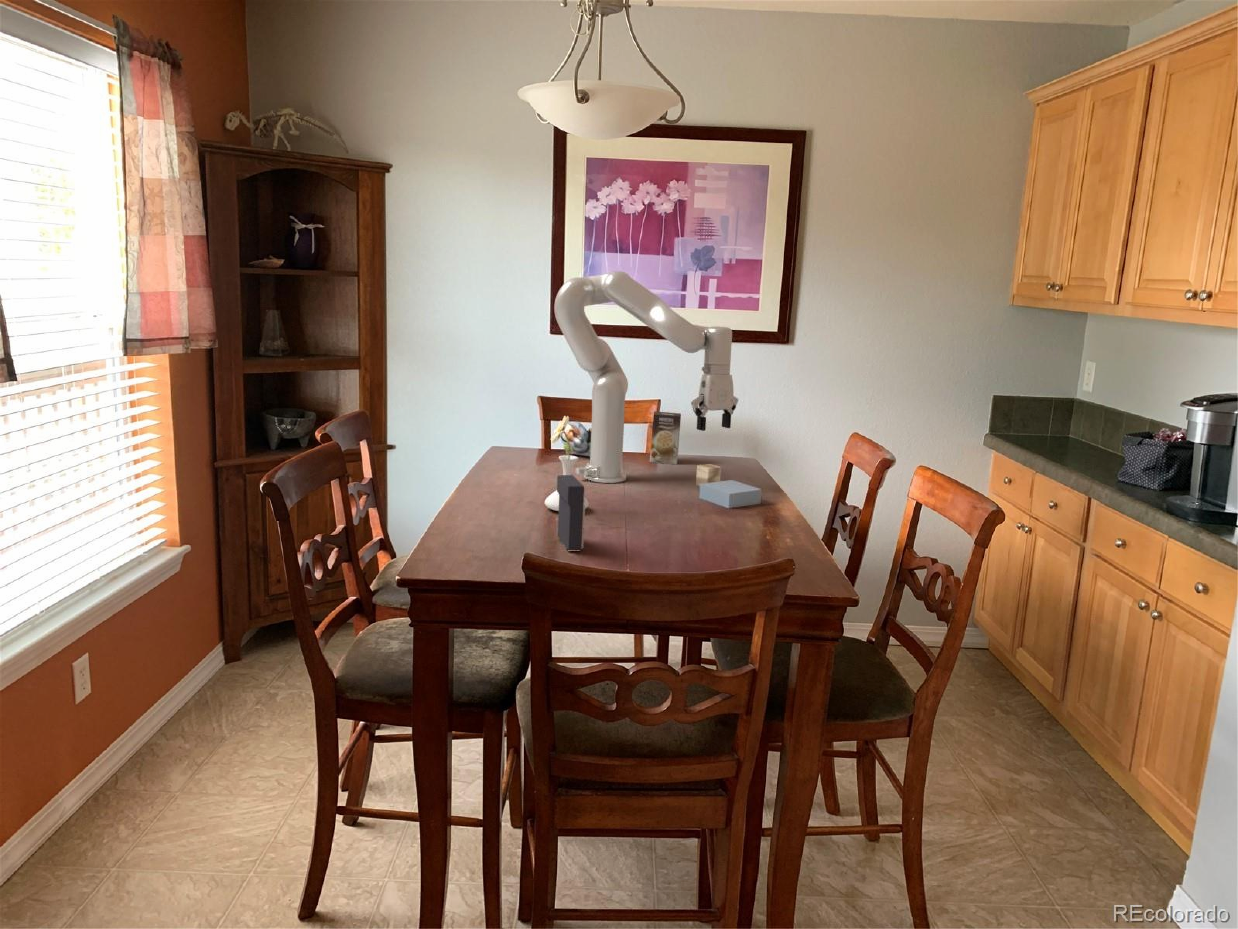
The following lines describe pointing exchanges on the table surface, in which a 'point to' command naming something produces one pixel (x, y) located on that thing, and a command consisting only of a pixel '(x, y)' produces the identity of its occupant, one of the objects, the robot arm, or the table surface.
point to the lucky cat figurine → (578, 438)
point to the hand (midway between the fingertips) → (713, 428)
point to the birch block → (707, 474)
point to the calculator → (571, 512)
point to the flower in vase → (567, 463)
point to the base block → (730, 493)
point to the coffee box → (665, 437)
